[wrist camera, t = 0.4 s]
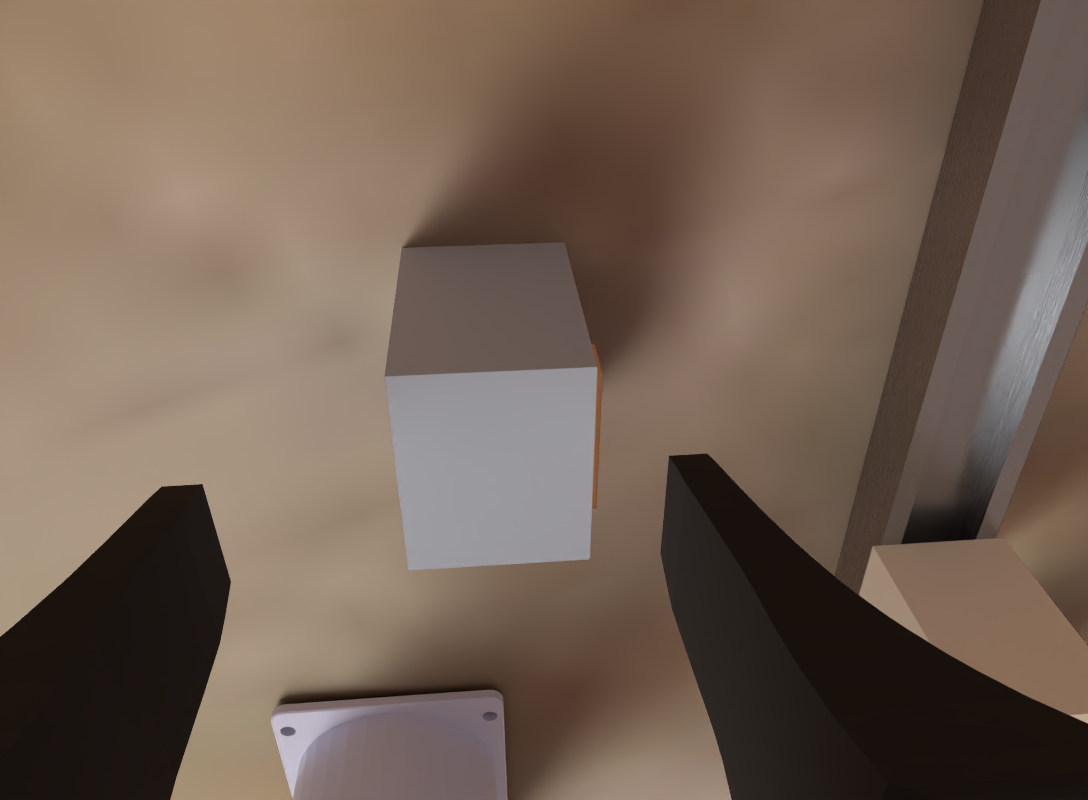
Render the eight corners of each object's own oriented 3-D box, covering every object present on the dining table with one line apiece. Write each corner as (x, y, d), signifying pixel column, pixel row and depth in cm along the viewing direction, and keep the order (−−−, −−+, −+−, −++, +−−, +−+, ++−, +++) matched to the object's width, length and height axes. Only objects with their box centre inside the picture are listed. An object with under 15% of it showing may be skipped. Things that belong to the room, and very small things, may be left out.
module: (571, 408, 24) (601, 558, 19) (418, 415, 24) (408, 570, 19) (574, 241, 21) (610, 366, 16) (401, 247, 21) (384, 376, 16)
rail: (939, 594, 29) (984, 665, 27) (815, 603, 29) (849, 675, 27) (1194, -114, 18) (1313, -106, 15) (993, -113, 18) (1082, -105, 15)
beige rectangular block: (975, 629, 28) (1090, 805, 23) (846, 638, 27) (933, 818, 22) (1012, 537, 25) (1149, 708, 20) (872, 546, 25) (976, 722, 20)
